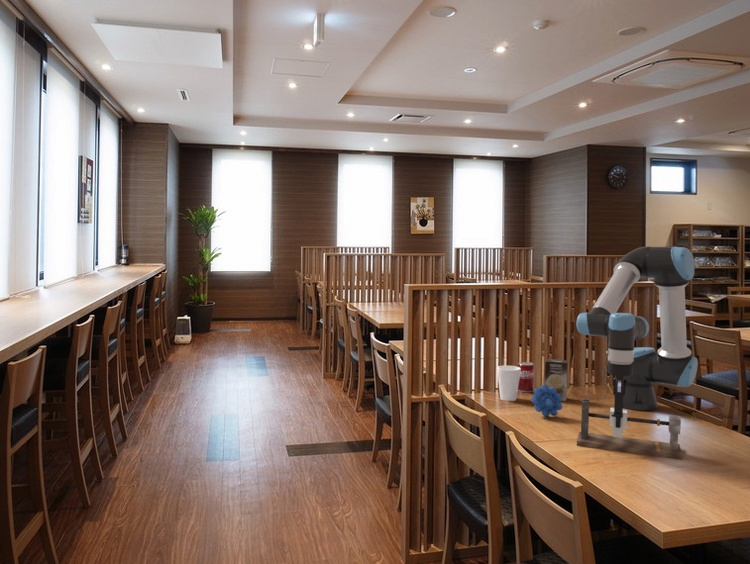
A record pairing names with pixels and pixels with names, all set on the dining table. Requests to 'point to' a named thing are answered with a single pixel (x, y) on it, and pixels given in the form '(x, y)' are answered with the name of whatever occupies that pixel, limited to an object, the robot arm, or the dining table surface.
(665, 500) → the dining table surface
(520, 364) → the soda can
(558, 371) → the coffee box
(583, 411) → the sliding block rail
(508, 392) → the foam cup
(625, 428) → the sleeve
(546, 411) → the blue knobbed wheel
